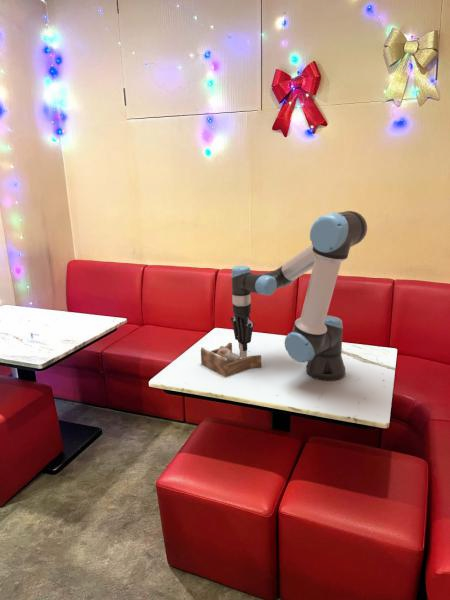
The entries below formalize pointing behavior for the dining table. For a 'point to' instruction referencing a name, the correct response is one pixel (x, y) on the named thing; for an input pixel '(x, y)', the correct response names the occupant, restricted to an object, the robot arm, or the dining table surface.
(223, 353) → the mottled brown rock
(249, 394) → the dining table surface
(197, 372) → the dining table surface
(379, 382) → the dining table surface
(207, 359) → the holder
